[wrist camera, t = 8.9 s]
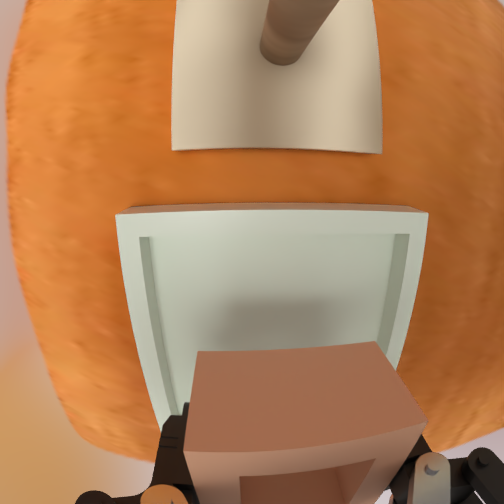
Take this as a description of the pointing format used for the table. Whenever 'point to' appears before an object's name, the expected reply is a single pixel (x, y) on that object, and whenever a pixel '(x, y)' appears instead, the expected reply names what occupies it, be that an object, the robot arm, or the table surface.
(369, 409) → the collar
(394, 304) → the tray
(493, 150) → the table surface
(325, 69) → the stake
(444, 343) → the table surface
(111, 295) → the table surface
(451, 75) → the table surface
